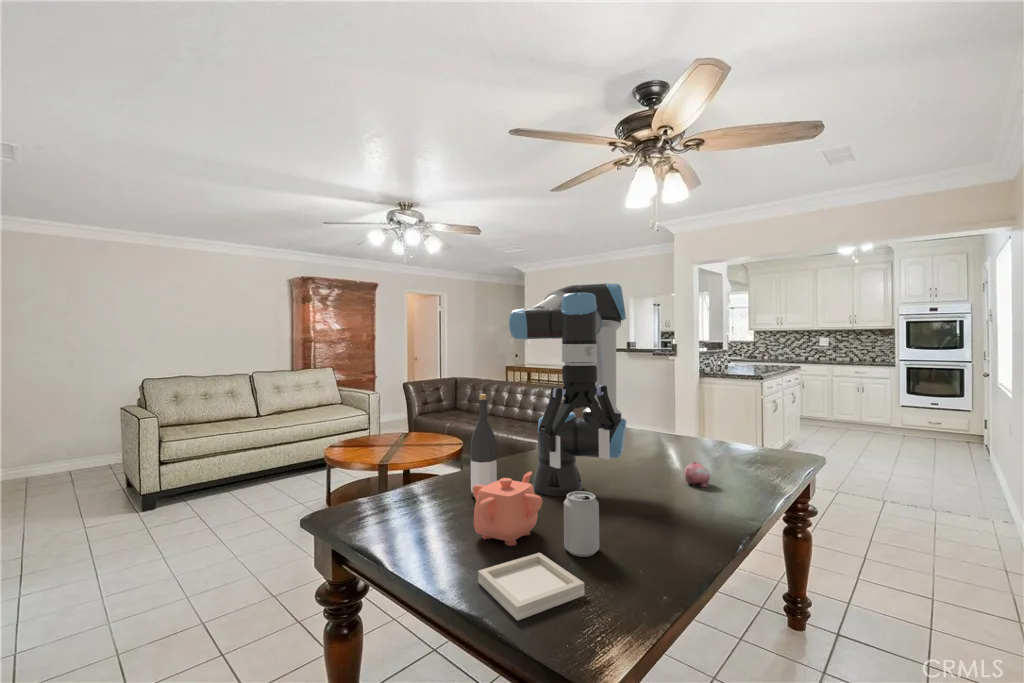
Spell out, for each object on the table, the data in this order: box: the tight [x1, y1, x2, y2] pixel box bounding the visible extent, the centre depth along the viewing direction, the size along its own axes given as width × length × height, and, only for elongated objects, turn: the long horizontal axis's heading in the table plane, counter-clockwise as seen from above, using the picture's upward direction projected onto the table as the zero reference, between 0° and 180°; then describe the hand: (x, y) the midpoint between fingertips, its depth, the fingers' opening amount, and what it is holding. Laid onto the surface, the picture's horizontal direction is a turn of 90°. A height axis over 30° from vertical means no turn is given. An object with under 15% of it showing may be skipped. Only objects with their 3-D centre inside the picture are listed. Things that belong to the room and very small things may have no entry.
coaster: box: [477, 552, 586, 621], centre depth 83 cm, size 14×14×2 cm
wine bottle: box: [470, 393, 498, 497], centre depth 135 cm, size 8×8×30 cm
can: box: [563, 490, 600, 558], centre depth 98 cm, size 8×8×12 cm
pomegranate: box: [684, 461, 711, 488], centre depth 142 cm, size 8×8×7 cm
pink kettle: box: [472, 471, 543, 547], centre depth 107 cm, size 17×16×13 cm
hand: (580, 462), depth 98 cm, fingers open, 13 cm apart
